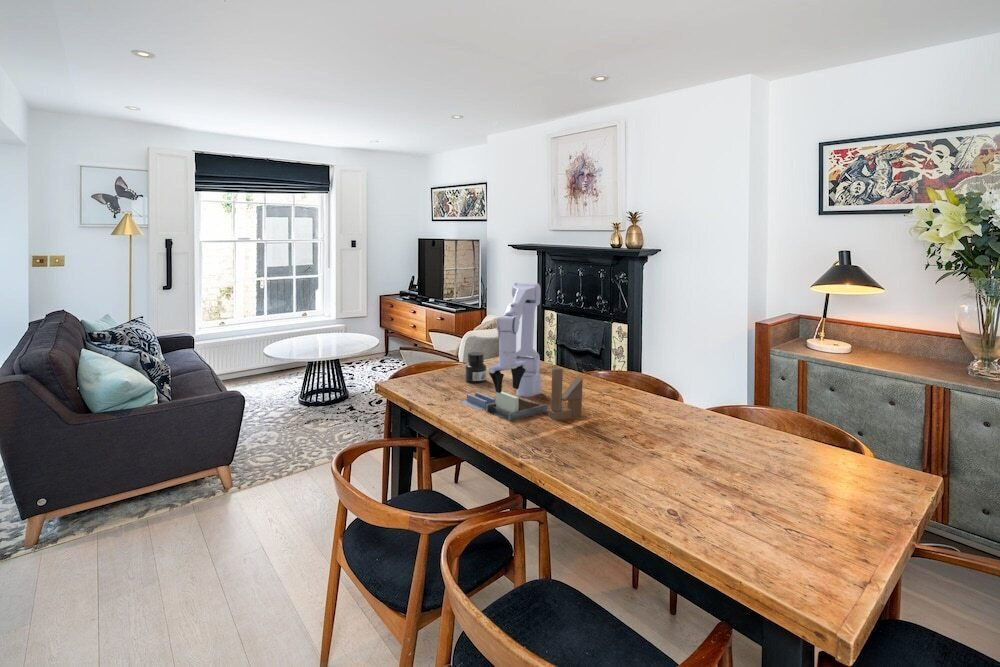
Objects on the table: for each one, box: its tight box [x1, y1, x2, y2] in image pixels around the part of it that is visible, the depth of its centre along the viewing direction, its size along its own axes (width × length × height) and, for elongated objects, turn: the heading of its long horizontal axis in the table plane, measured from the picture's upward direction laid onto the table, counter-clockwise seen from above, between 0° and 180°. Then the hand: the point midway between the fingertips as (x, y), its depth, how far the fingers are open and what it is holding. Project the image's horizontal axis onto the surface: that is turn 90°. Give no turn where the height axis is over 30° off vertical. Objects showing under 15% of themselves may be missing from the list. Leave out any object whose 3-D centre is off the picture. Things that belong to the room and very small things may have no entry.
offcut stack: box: [518, 396, 540, 410], centre depth 187 cm, size 4×8×4 cm, turn 39°
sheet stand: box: [459, 391, 496, 411], centre depth 194 cm, size 10×12×4 cm
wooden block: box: [548, 367, 584, 421], centre depth 179 cm, size 4×11×18 cm, turn 112°
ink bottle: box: [465, 351, 487, 384], centre depth 227 cm, size 10×9×12 cm
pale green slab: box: [495, 391, 520, 413], centre depth 182 cm, size 2×10×7 cm, turn 39°
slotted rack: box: [485, 396, 549, 423], centre depth 185 cm, size 17×13×4 cm
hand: (507, 390), depth 181 cm, fingers open, 7 cm apart
